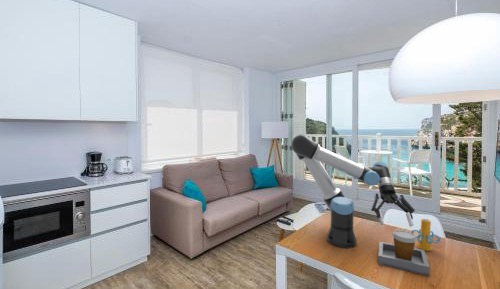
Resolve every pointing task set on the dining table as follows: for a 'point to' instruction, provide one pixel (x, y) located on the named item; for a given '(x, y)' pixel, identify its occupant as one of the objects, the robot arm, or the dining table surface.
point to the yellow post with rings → (425, 236)
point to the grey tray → (415, 265)
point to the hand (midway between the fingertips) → (396, 224)
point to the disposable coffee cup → (404, 244)
